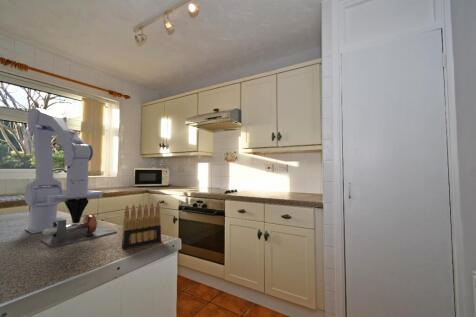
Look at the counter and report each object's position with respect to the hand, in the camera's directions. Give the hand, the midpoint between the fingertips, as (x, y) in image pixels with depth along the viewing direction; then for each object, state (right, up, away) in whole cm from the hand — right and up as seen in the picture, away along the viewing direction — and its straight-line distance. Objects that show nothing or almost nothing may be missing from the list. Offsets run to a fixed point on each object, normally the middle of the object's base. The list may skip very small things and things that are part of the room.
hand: (75, 222), depth 72 cm
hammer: (-1, -4, -1) cm, 4 cm away
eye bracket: (+1, -5, +1) cm, 5 cm away
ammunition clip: (+24, -5, -6) cm, 25 cm away
